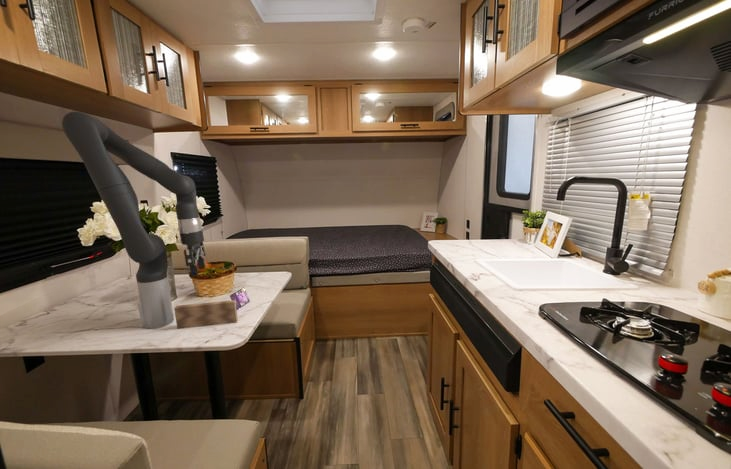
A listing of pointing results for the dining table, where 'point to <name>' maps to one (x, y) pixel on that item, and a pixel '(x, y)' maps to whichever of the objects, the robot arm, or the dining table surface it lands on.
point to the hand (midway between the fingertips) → (198, 272)
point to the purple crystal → (239, 298)
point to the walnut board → (206, 314)
